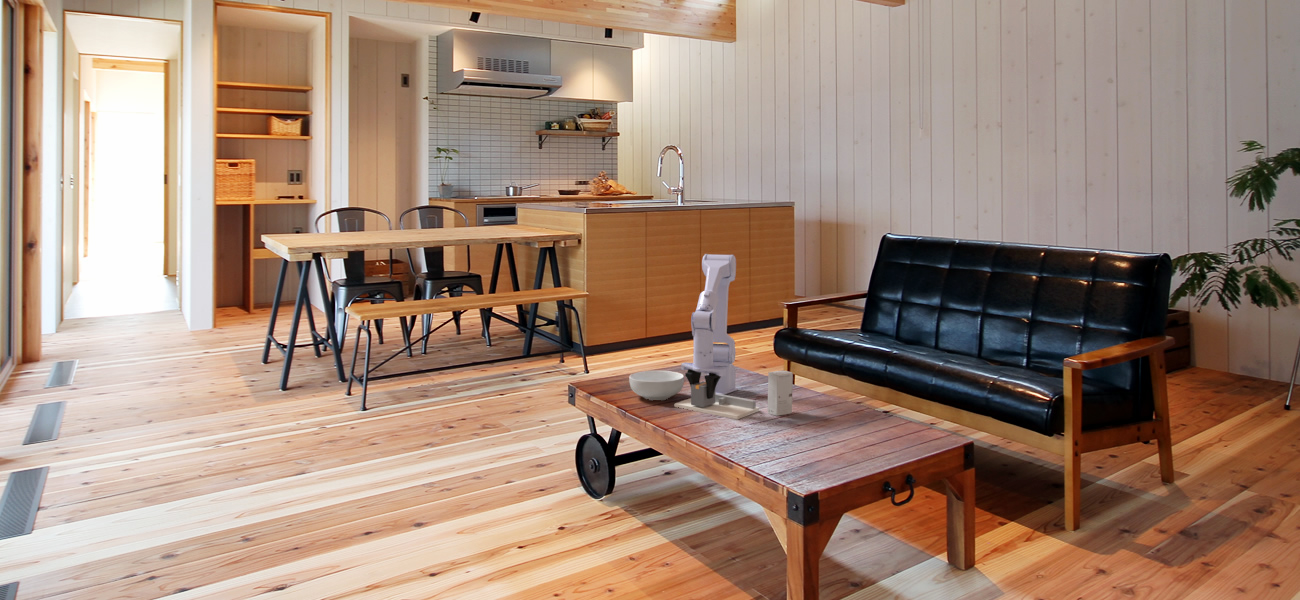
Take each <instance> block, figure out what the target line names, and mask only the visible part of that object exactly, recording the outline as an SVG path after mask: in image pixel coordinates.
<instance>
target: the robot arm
mask: <svg viewBox="0 0 1300 600" xmlns="http://www.w3.org/2000/svg"><path fill="white" fill-rule="evenodd" d="M701 268H702V272H703V275H704V276H705V284H704V285H705V286H704V290H703V291H701V292H700V294H699V296H698V301H697V306H696V309H695V311H693V312H692V313H691V316H690V317H691V319H690V322H691V323H690V326H691V334H692V337H693V353H692V354H693V356H692V357H693V361H692V363H691V362H682V363H681V367H680V369H681V370H682V371H687V372H685V373H684V375H685V376H684V377H686V379H687V382H688V383H689V386H690V387H691V385H692V384H696V383H699V382H701V376H702V373H703V374H706V375H704V380H705V381H704V382H706V386H707V399H711V398H713V395H714V391H715V393H717V394H723V395H727V394H730V393H733V392H736V391H738V390H739V389H738V388H737V387H736V381H737V380H736V375H737V373H736V370H737V369H736V367H735V365H734V364H733V363H735V361H736V342H735V339H734V338H733V337H732V336H730V335H729V334H728V333H727V331H728V330H727V329H728V310H729V309H728V308H729V307H728V306H729V305H728V304H729V287H730V283H731V282H734V281H735V280H736V275H737V273H736V272H737V259H736V256H735V255H734V254H709V253H704V255H703V256H702V260H701Z"/></svg>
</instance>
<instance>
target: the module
mask: <svg viewBox="0 0 1300 600" xmlns="http://www.w3.org/2000/svg"><path fill="white" fill-rule="evenodd" d="M690 398H691V405H695V406H700V407H706V406H709V405H712V404H715V391H714V395H713V398H711V399H707V386H706V381H700V382H699V383H696V384H692V385H691V386H690Z"/></svg>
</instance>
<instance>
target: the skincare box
mask: <svg viewBox="0 0 1300 600" xmlns="http://www.w3.org/2000/svg"><path fill="white" fill-rule="evenodd" d="M793 375H794V374H793V372H792V371H788V370H783V369H782V370H774V371H770V372H769V371H768V379H767V380H768V381H767V413H768V414H769V415H771V416H775V417H778V416H784V415H788V414H789V415H790V414H792V413H793V381H794V377H793Z"/></svg>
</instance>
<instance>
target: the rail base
mask: <svg viewBox="0 0 1300 600" xmlns="http://www.w3.org/2000/svg"><path fill="white" fill-rule="evenodd" d="M756 402H757V400H755V399H749V398H743V397H738V396H732V395H727V394H725V395H723V394H717V393H715V404H712V405H709V406H706V407H700V406H695V405H691V397H690V398H688V399H687V398H686V399H684V400H681V401H679V402H676V403H674V407H675V408H678V407H679V408H678V409H683V408H684V410H687V409H688V410H689V411H692V410H693V412H698V413H702V414H703V413H704V414H709V415H711V416H712V415H713V416H717V417H723V418H727V419H733V420H739V419H742V418H744V417H746V416H749V415H752V414H754V413H757V412H759V411H760V407H759V406H756V405H757V403H756Z"/></svg>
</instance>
